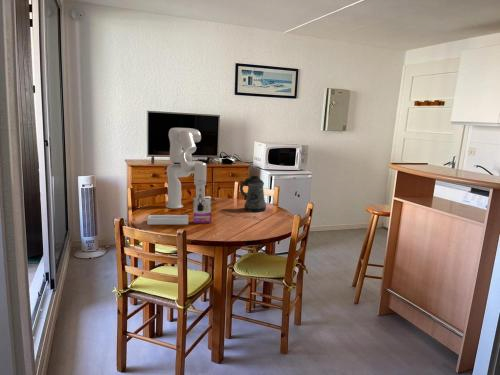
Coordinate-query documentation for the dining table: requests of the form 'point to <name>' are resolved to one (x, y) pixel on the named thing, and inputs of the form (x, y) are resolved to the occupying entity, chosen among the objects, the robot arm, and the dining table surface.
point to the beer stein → (254, 194)
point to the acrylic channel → (167, 219)
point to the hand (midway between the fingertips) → (199, 209)
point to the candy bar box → (202, 215)
